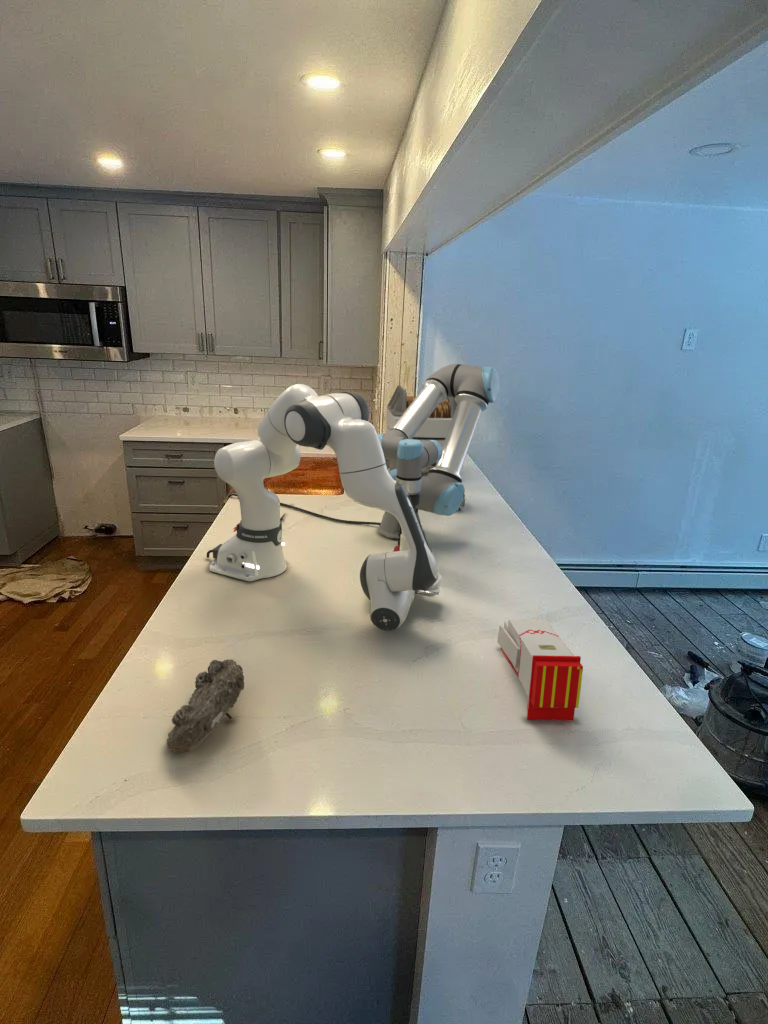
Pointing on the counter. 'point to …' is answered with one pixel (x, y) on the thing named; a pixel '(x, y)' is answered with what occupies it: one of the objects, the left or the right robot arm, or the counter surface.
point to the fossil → (206, 705)
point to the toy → (542, 668)
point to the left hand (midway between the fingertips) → (408, 568)
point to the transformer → (432, 426)
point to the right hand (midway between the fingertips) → (403, 561)
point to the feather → (281, 518)
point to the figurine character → (462, 503)
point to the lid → (397, 548)
